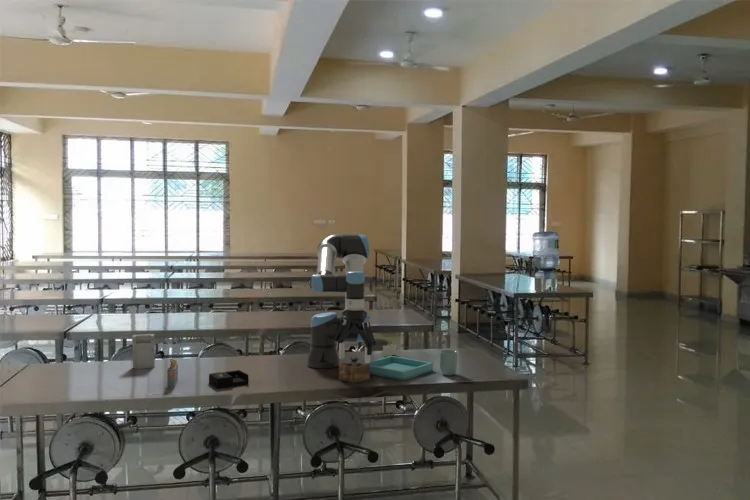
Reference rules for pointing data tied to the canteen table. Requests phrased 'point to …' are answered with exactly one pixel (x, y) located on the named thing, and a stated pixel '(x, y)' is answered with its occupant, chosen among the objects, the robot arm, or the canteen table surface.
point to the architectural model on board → (171, 375)
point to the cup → (448, 362)
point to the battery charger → (228, 379)
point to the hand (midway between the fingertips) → (354, 360)
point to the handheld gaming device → (143, 351)
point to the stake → (354, 361)
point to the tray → (399, 367)
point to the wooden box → (354, 372)
